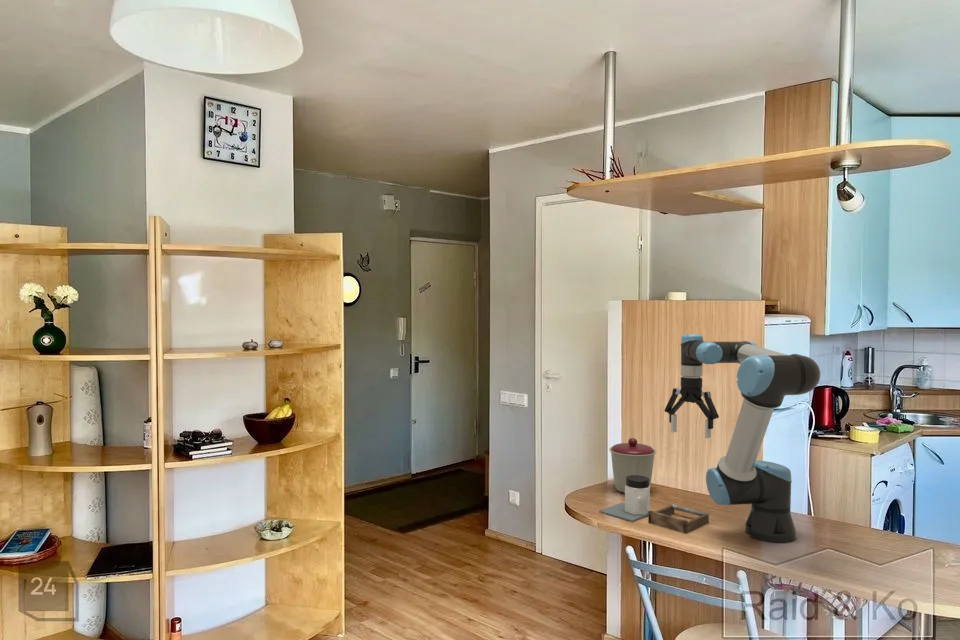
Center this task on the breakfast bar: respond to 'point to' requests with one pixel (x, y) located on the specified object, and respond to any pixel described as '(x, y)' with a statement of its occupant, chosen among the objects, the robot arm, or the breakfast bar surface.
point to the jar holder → (677, 519)
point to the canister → (631, 462)
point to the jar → (637, 495)
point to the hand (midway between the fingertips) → (690, 434)
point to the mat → (622, 513)
